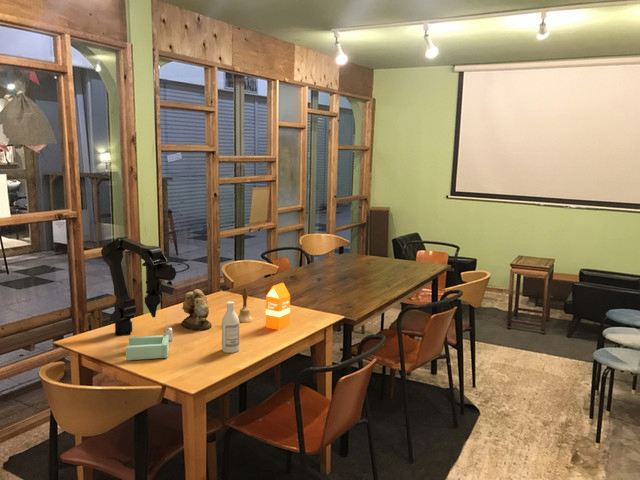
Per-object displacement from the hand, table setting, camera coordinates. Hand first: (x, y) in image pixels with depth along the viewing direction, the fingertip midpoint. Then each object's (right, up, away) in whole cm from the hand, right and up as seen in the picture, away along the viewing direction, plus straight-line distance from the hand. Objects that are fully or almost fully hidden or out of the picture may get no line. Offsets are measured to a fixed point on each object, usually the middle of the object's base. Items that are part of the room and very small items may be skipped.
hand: (154, 314), depth 219 cm
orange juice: (+49, -9, +26) cm, 56 cm away
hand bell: (+33, -8, +34) cm, 48 cm away
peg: (+5, -12, +3) cm, 13 cm away
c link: (+1, -14, -12) cm, 18 cm away
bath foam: (+33, -14, -6) cm, 36 cm away
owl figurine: (+11, -9, +24) cm, 28 cm away
